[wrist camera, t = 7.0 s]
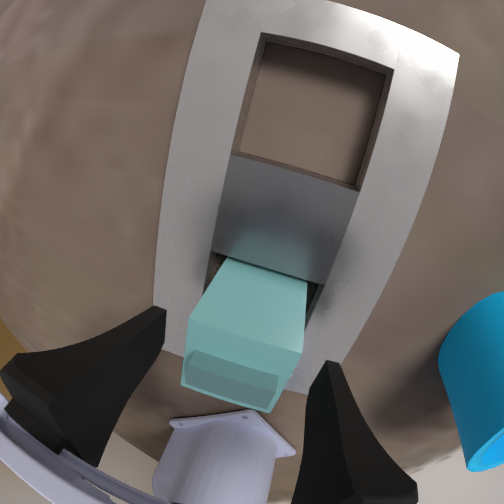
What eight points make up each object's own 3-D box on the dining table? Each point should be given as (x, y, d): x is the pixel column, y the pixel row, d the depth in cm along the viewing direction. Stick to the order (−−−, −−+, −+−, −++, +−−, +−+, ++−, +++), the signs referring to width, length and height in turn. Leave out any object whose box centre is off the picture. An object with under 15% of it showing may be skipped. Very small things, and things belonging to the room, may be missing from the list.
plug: (285, 329, 16) (266, 428, 10) (219, 308, 17) (173, 398, 11) (307, 271, 15) (300, 370, 9) (232, 248, 15) (179, 332, 9)
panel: (319, 380, 18) (318, 397, 16) (161, 330, 18) (152, 344, 17) (445, 60, 9) (459, 54, 7) (221, -3, 10) (211, -14, 8)
